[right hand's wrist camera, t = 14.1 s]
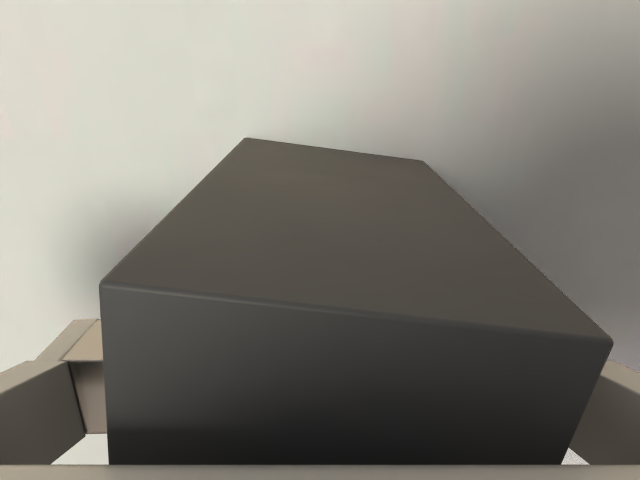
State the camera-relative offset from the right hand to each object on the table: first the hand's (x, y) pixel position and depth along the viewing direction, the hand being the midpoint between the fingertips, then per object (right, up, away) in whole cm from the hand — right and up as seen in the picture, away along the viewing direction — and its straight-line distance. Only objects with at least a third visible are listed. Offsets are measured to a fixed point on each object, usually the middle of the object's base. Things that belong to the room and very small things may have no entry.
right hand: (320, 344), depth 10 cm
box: (-1, -7, +10) cm, 13 cm away
